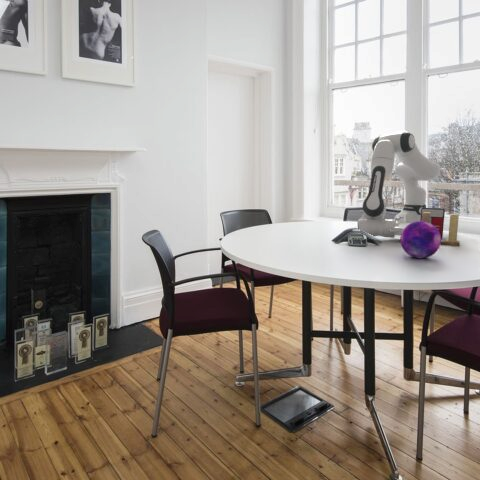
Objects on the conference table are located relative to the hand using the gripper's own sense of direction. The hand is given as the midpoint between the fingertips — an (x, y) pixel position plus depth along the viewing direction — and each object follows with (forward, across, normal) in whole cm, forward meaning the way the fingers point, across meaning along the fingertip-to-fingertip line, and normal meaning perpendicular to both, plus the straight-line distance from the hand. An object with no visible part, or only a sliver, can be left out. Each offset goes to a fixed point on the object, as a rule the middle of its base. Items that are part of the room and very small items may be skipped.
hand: (421, 230), depth 212 cm
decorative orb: (+1, -39, +6) cm, 39 cm away
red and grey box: (+4, +20, +6) cm, 21 cm away
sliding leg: (+2, 0, +4) cm, 4 cm away
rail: (+4, 0, +6) cm, 7 cm away
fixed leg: (+14, 0, +4) cm, 15 cm away
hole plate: (+8, +9, +6) cm, 13 cm away
